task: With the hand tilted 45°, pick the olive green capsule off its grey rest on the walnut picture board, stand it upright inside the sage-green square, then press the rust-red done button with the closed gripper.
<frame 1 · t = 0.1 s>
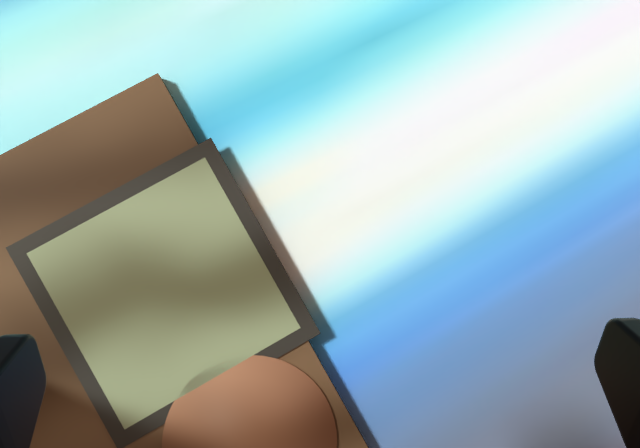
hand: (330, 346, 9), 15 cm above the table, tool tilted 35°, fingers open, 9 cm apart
picture board: (93, 360, 23), on the table
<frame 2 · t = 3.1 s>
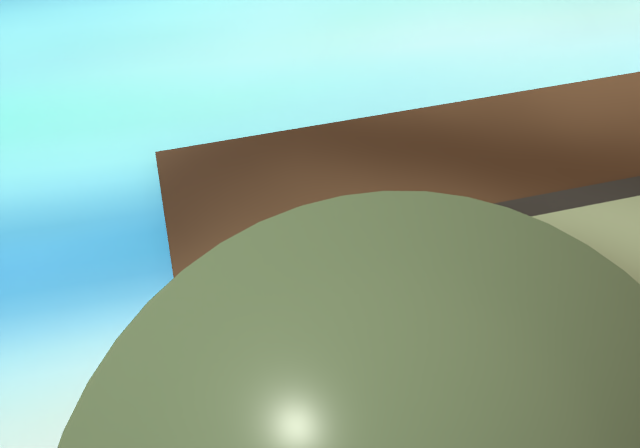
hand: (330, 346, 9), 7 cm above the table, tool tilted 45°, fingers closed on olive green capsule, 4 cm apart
picture board: (493, 408, 16), on the table
olive green capsule: (311, 412, 15), point 1 cm above the table, touching gripper, picture board
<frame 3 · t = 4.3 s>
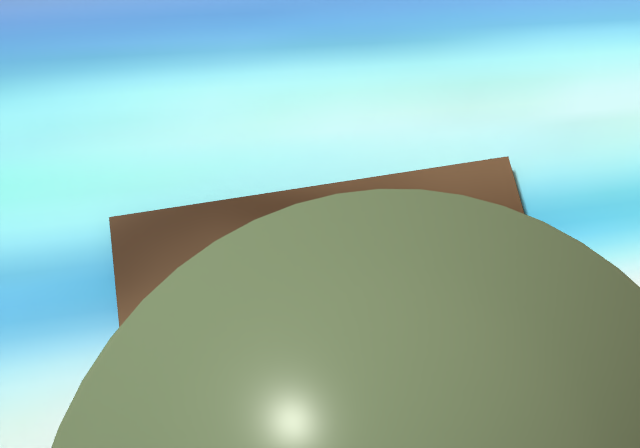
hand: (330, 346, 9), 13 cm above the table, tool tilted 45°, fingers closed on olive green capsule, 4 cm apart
picture board: (359, 421, 21), on the table
olive green capsule: (310, 412, 15), point 6 cm above the table, touching gripper
when the fingers open (9 cm above the table, at t = 5.9 s): olive green capsule drops 1 cm, resting on picture board.
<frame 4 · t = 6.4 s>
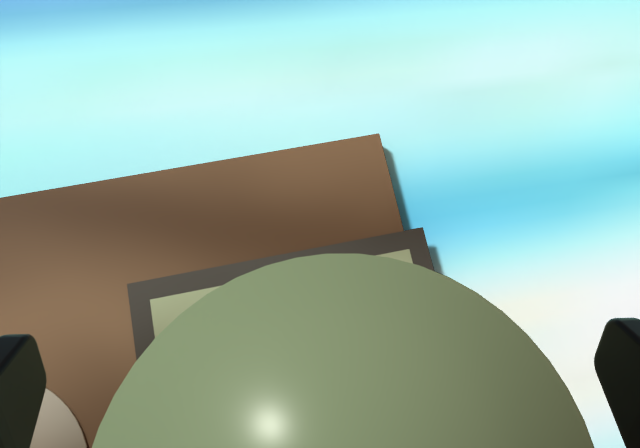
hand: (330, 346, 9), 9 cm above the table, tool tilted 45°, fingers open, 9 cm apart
olive green capsule: (309, 409, 16), point 1 cm above the table, touching picture board
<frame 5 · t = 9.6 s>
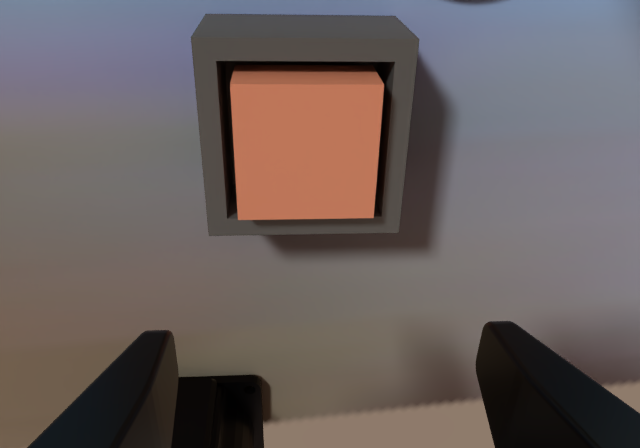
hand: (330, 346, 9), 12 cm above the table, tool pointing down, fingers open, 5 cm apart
done button: (305, 142, 16), point 3 cm above the table, slide at 0.0 cm
button housing: (301, 106, 19), on the table
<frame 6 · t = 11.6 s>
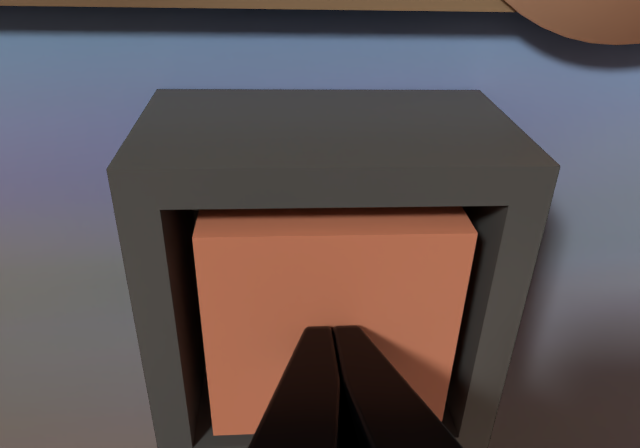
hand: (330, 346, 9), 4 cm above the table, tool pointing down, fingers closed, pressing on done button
done button: (327, 304, 10), point 3 cm above the table, slide at 0.7 cm, touching gripper
button housing: (318, 229, 12), on the table
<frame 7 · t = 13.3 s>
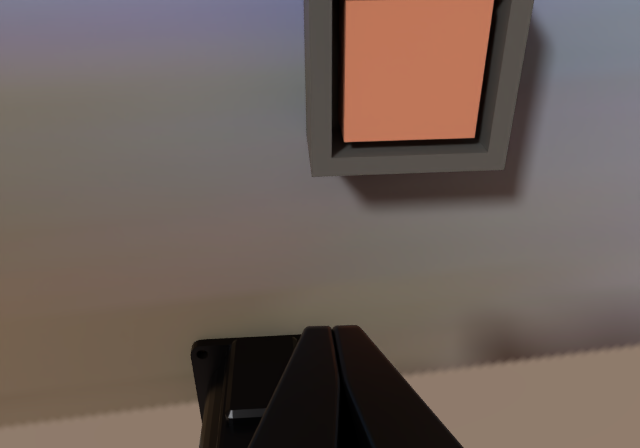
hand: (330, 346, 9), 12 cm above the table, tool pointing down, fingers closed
done button: (407, 65, 17), point 2 cm above the table, slide at 1.0 cm
button housing: (394, 47, 19), on the table
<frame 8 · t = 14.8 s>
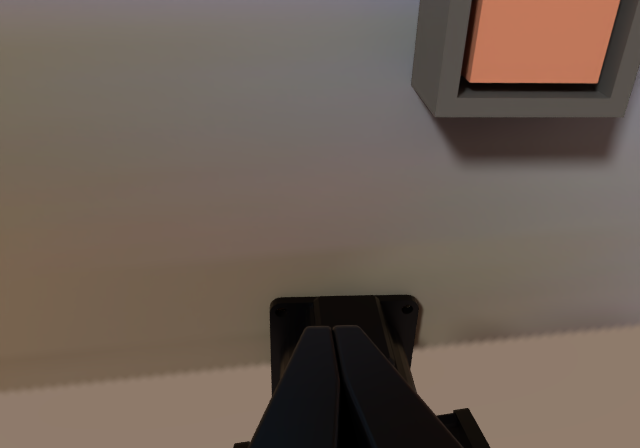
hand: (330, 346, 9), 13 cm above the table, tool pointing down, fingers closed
done button: (535, 7, 17), point 2 cm above the table, slide at 1.0 cm
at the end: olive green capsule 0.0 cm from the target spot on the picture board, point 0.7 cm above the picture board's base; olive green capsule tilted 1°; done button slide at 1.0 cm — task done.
